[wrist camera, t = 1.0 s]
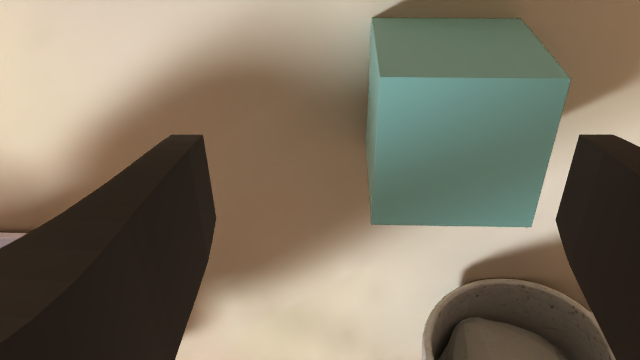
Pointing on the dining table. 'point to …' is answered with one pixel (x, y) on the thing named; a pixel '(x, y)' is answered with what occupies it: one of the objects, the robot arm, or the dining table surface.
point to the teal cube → (459, 121)
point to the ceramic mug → (512, 325)
